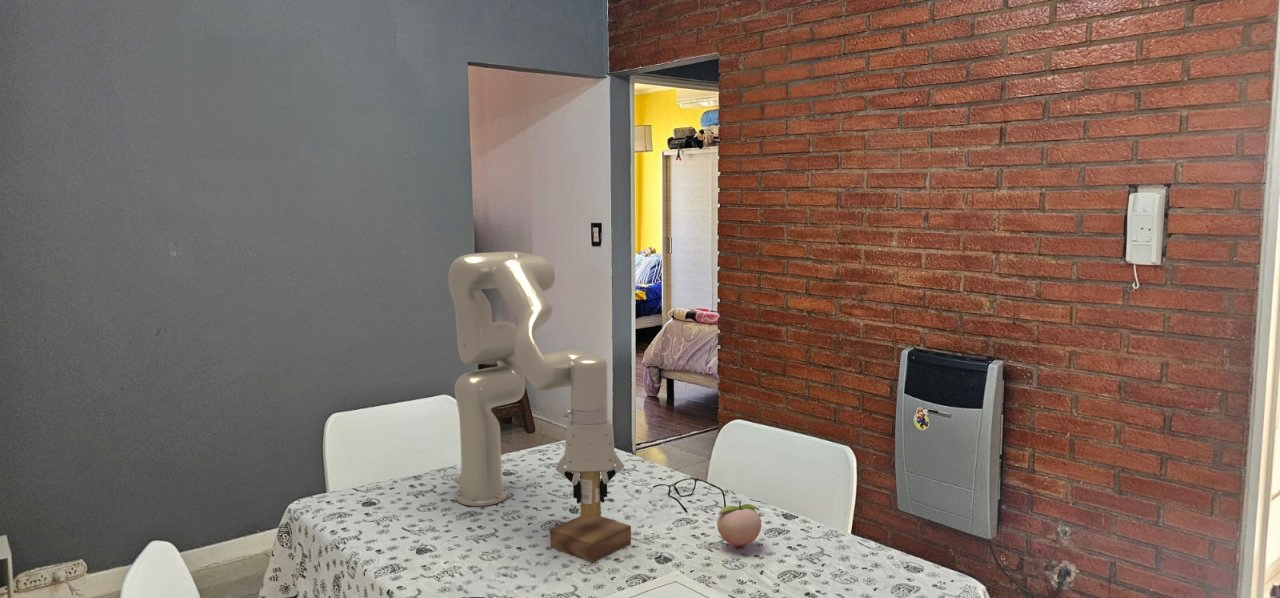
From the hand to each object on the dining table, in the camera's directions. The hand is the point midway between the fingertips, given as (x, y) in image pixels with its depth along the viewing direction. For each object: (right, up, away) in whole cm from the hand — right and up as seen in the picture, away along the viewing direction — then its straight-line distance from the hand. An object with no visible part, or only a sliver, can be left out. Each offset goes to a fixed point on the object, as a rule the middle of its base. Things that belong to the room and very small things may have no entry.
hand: (590, 499), depth 177 cm
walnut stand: (0, -10, +1) cm, 10 cm away
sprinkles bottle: (0, -4, 0) cm, 4 cm away
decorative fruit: (+31, -10, 0) cm, 33 cm away
